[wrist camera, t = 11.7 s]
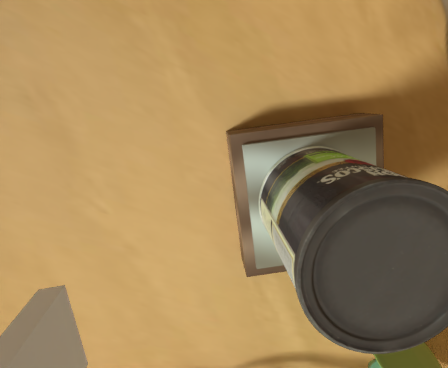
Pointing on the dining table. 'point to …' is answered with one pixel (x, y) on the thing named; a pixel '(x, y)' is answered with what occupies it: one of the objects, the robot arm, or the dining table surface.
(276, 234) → the coffee can
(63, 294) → the robot arm
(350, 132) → the tray
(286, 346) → the dining table surface
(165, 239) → the dining table surface
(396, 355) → the magenta flower sprig
